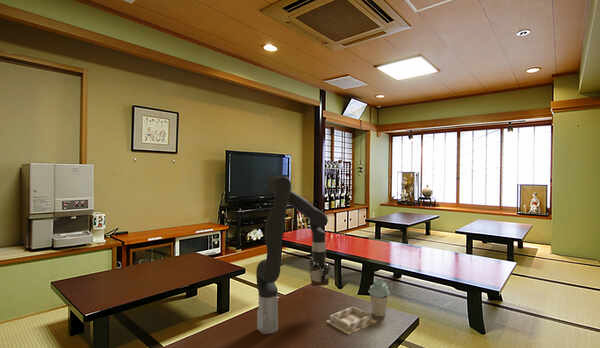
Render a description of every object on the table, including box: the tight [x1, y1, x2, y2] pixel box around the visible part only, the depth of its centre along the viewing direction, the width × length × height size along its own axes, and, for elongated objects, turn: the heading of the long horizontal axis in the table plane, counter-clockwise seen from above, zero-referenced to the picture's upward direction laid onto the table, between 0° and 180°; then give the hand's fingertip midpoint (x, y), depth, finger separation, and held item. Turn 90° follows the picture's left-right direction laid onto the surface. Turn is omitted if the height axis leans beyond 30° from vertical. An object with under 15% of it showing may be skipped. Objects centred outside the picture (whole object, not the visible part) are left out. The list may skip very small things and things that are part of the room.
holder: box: [325, 306, 378, 335], centre depth 159 cm, size 20×16×4 cm
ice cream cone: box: [368, 277, 391, 317], centre depth 168 cm, size 10×11×20 cm
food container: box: [308, 265, 332, 288], centre depth 171 cm, size 12×6×10 cm, turn 106°
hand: (319, 280), depth 170 cm, fingers closed on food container, 6 cm apart
